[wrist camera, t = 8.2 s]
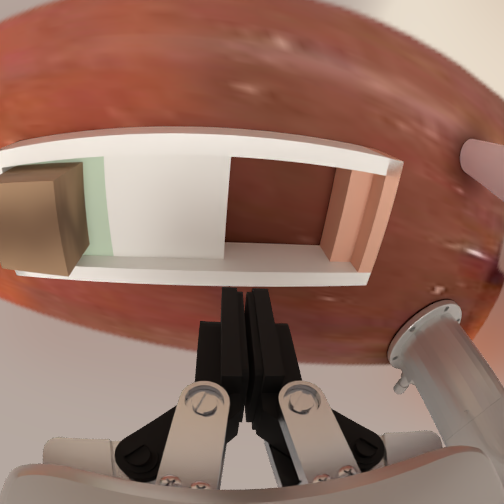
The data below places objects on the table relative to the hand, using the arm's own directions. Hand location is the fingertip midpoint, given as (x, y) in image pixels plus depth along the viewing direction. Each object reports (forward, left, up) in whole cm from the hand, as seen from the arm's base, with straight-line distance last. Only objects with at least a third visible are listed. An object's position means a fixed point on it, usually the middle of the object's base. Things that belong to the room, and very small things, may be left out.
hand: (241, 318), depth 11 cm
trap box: (+1, +3, -12) cm, 12 cm away
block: (+1, +13, -9) cm, 16 cm away
